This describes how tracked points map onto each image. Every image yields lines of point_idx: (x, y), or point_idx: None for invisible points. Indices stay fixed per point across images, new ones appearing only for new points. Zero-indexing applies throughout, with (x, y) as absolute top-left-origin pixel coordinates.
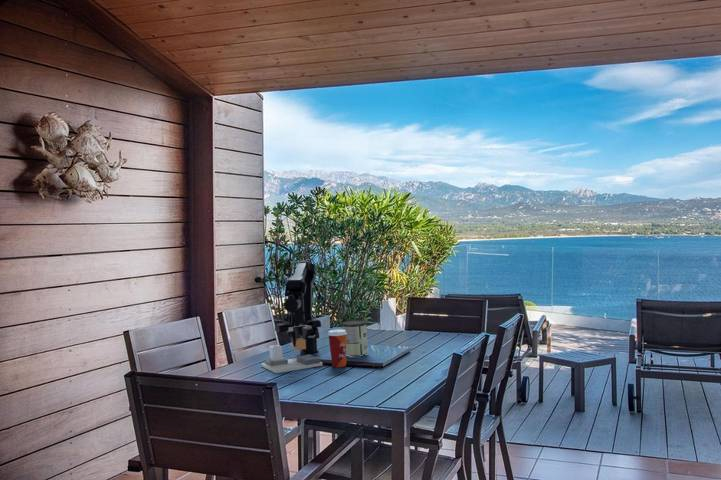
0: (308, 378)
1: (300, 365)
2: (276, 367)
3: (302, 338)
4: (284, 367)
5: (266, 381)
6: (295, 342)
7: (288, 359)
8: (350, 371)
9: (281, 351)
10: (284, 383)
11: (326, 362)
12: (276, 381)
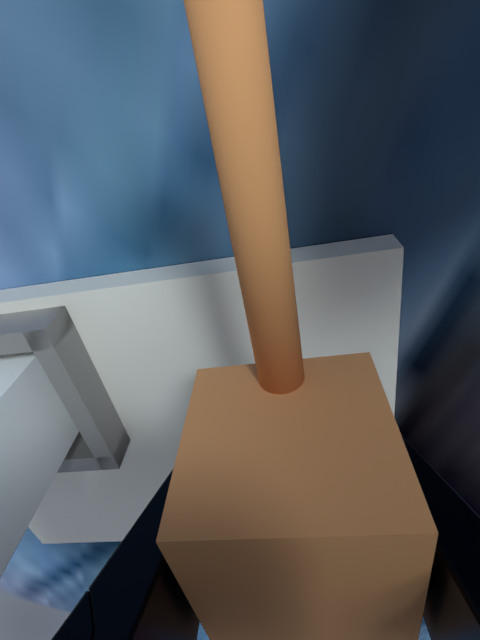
0: None
1: None
2: None
3: (414, 584)
4: (99, 518)
5: (22, 596)
6: None
7: (148, 290)
8: (427, 633)
9: (15, 532)
10: None
11: (465, 453)
12: (69, 610)
